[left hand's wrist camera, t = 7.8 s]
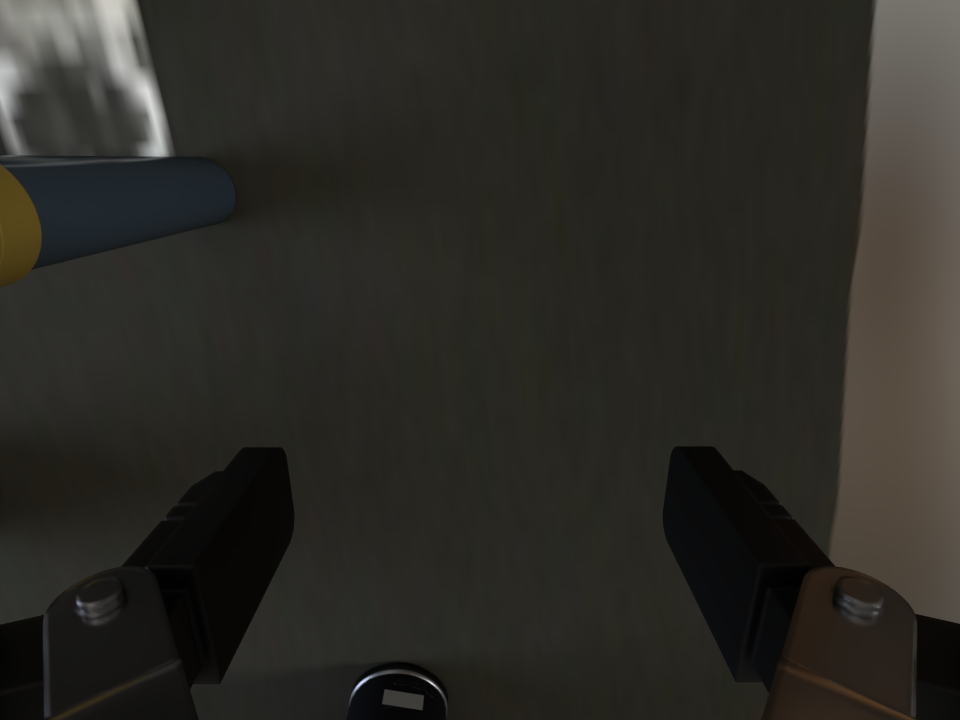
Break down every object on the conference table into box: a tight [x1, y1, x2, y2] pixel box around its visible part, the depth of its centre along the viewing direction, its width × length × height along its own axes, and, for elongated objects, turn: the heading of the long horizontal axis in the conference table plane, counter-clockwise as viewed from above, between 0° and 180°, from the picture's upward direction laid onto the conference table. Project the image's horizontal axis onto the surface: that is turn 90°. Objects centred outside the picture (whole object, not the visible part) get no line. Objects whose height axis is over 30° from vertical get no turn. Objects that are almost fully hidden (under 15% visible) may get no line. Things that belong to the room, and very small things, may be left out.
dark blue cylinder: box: [0, 155, 235, 270], centre depth 28 cm, size 4×4×20 cm
